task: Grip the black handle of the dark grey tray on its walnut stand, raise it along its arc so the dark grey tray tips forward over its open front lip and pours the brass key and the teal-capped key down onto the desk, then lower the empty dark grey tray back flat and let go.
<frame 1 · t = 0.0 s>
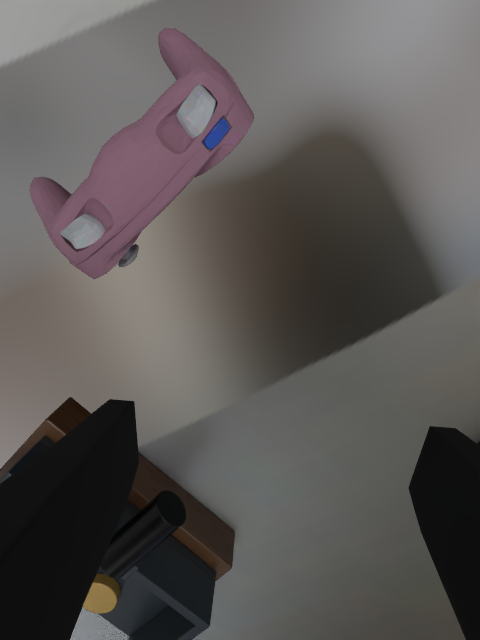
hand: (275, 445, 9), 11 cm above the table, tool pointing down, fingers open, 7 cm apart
stand: (117, 503, 23), on the table
dark grey tray: (103, 554, 18), point 5 cm above the table, hinge at 0.0°, touching brass key, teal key
brass key: (76, 569, 20), point 3 cm above the table, touching dark grey tray
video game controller: (152, 167, 18), on the table
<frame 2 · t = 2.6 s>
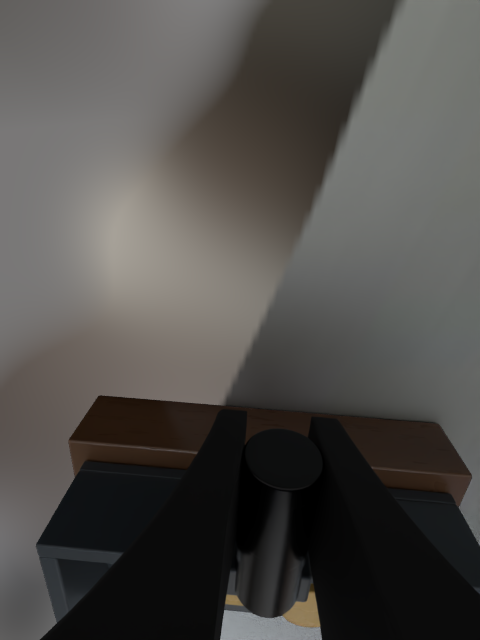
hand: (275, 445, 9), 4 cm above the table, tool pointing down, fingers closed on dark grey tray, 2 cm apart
stand: (258, 480, 16), on the table
dark grey tray: (261, 568, 11), point 5 cm above the table, hinge at 0.0°, touching brass key, gripper, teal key
brass key: (261, 588, 14), point 3 cm above the table, touching dark grey tray
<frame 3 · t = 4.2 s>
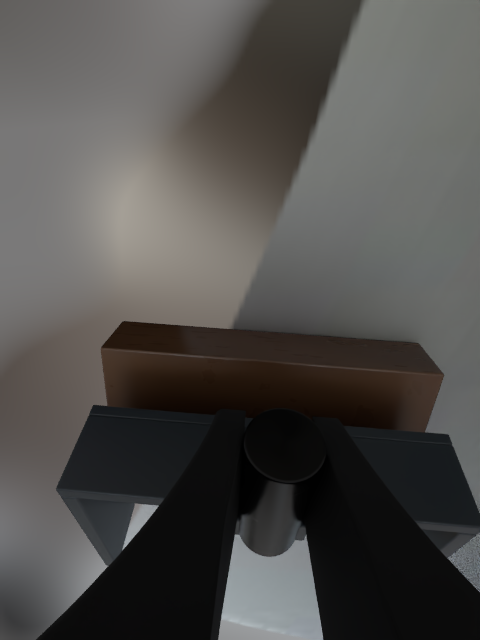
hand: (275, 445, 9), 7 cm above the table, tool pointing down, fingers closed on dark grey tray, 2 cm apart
stand: (262, 402, 18), on the table
dark grey tray: (263, 499, 12), point 6 cm above the table, hinge at 16.6°, touching brass key, gripper, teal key
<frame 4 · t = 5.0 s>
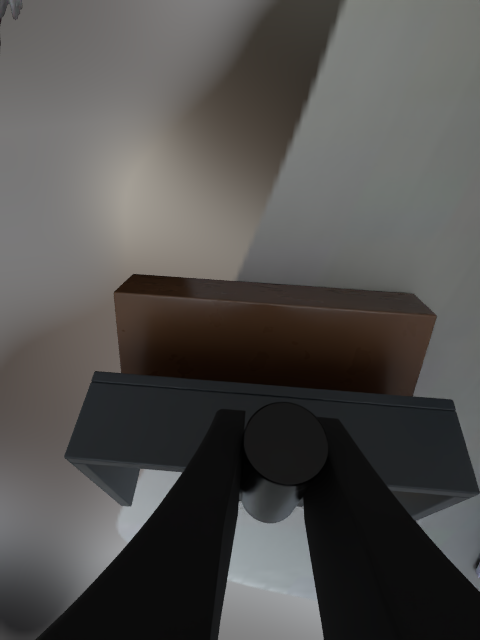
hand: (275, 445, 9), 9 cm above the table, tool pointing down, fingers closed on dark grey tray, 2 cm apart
stand: (265, 354, 19), on the table
dark grey tray: (265, 460, 12), point 7 cm above the table, hinge at 28.1°, touching gripper
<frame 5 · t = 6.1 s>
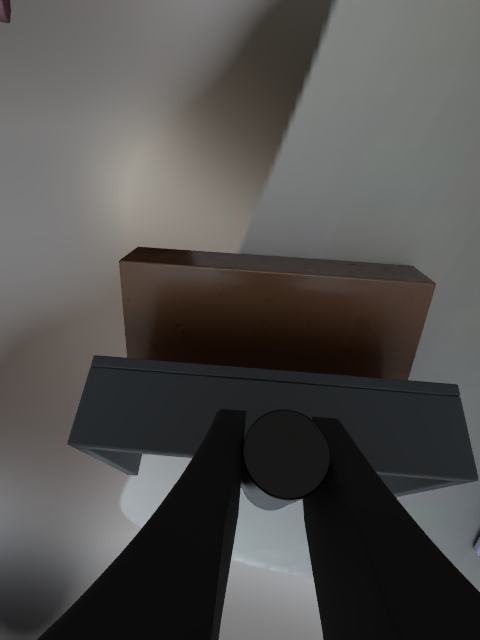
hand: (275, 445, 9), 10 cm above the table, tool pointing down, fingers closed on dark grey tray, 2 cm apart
stand: (267, 328, 19), on the table
dark grey tray: (267, 442, 12), point 8 cm above the table, hinge at 35.7°, touching gripper
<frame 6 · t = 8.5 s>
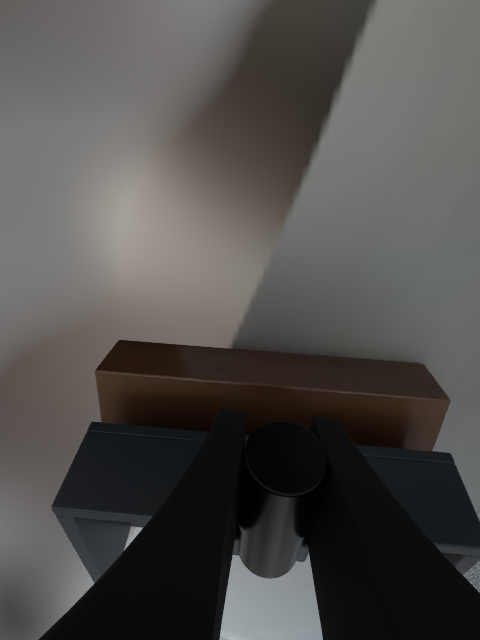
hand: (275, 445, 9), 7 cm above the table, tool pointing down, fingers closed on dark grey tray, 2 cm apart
stand: (262, 421, 17), on the table
dark grey tray: (263, 519, 11), point 6 cm above the table, hinge at 13.0°, touching gripper
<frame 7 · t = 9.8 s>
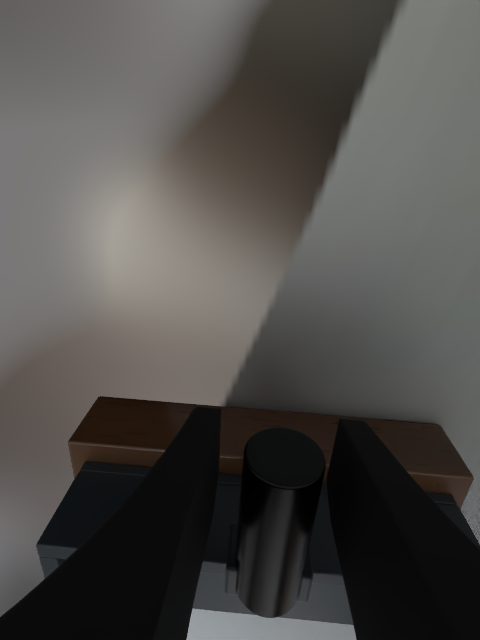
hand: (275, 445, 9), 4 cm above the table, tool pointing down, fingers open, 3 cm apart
stand: (259, 481, 16), on the table
dark grey tray: (261, 568, 11), point 5 cm above the table, hinge at -0.4°
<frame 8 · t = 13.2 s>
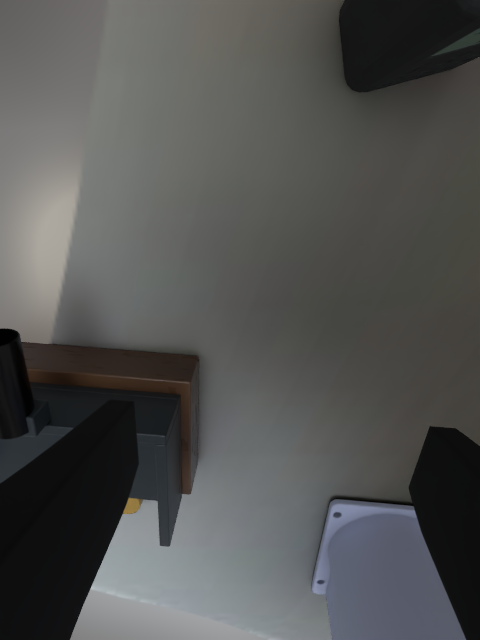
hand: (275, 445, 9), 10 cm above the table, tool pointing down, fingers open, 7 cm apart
walkie-talkie: (405, 29, 14), on the table
stand: (88, 403, 21), on the table
dark grey tray: (40, 435, 17), point 5 cm above the table, hinge at -0.4°
brass key: (96, 494, 24), point 1 cm above the table, tilted 178°, touching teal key
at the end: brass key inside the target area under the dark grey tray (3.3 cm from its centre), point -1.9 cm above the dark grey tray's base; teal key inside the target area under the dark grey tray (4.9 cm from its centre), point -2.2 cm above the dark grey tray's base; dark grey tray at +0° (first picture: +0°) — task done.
